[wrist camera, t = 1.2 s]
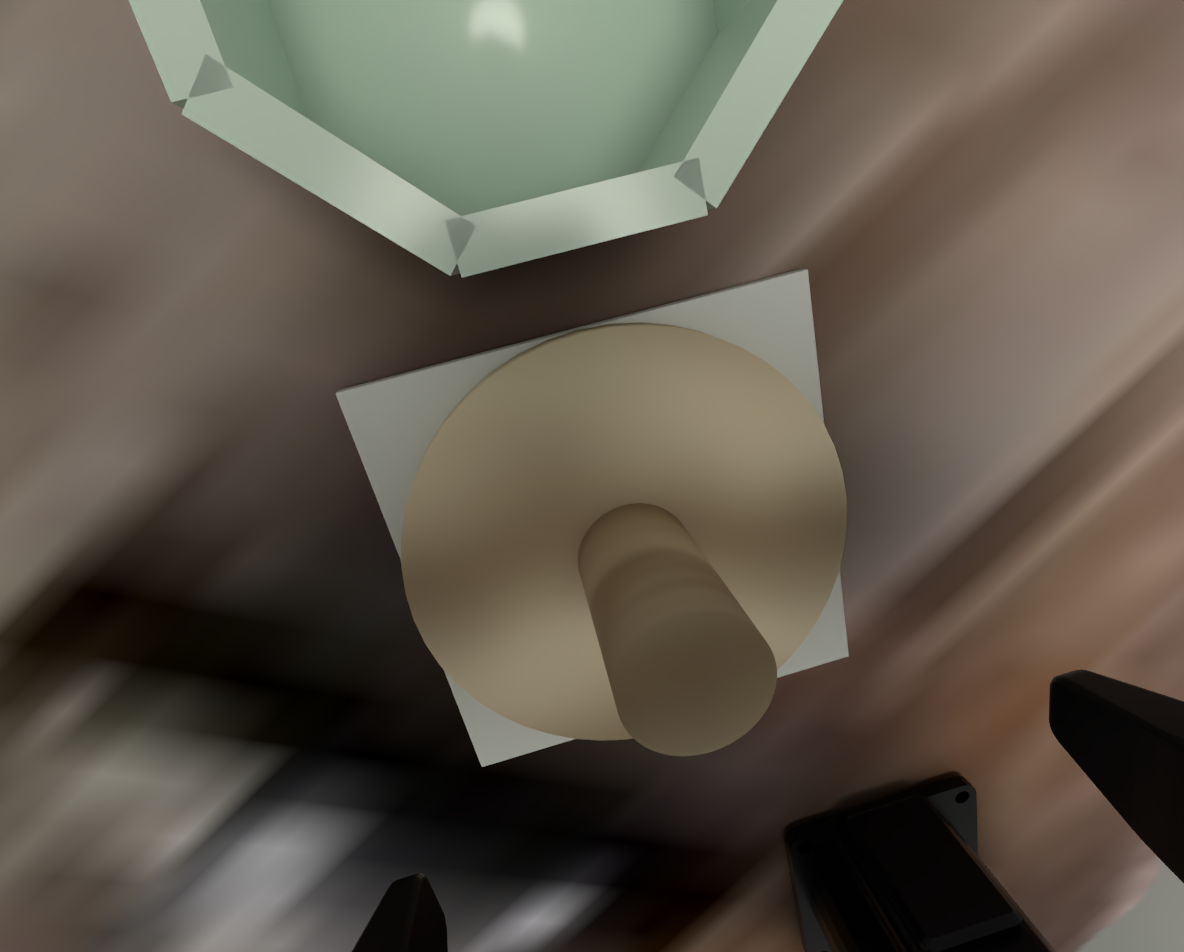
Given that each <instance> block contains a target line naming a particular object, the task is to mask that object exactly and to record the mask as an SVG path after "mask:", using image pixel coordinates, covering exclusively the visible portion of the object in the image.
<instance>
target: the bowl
mask: <svg viewBox="0 0 1184 952" xmlns="http://www.w3.org/2000/svg"><path fill="white" fill-rule="evenodd" d="M129 2H130V5H131V7H132V10H133V12H134V14H135V17H136V19H137V22H138V24H139V26H140V29H141V31H142V34H143V36H144V38H145V41H146V43H147V46H148V48H149V50H150V53H151V55H152V58H153V60H154V62H155V65H156V67H157V70H158V72H159V74H160V77H161V79H162V82H163V84H164V86H165V89H166V91H167V94H168V96H169V98H170V101H171V102H172V103H174V104H176V105H178V106H180V107H182V108H184V109H183V112H182V115H184V116H185V117H187V118H189V119H190V120H192V121H194V122H195V123H197V124H199V125H200V126H202V127H204V128H205V129H207V130H209V131H210V132H212V133H214V134H215V135H217V136H219V137H220V138H222V139H224V140H225V141H227V142H229V143H230V144H232V145H233V146H235V147H237V148H238V149H240V150H242V151H243V152H245V153H247V154H248V155H250V156H252V157H253V158H255V159H257V160H258V161H260V162H262V163H263V164H265V165H267V166H268V167H270V168H272V169H273V170H275V171H277V172H278V173H280V174H282V175H283V176H285V177H287V178H288V179H290V180H292V181H293V182H295V183H297V184H298V185H300V186H302V187H303V188H305V189H307V190H308V191H310V192H312V193H313V194H315V195H317V196H318V197H320V198H322V199H323V200H325V201H327V202H328V203H330V204H331V205H333V206H335V207H336V208H338V209H340V210H341V211H343V212H345V213H346V214H348V215H350V216H351V217H353V218H355V219H356V220H358V221H360V222H361V223H363V224H365V225H366V226H368V227H370V228H371V229H373V230H375V231H376V232H378V233H380V234H381V235H383V236H385V237H386V238H388V239H390V240H391V241H393V242H395V243H396V244H398V245H400V246H401V247H403V248H405V249H406V250H408V251H410V252H411V253H413V254H415V255H416V256H418V257H420V258H421V259H423V260H425V261H426V262H428V263H429V264H431V265H433V266H434V267H436V268H438V269H439V270H441V271H443V272H444V273H446V274H448V275H449V276H452V275H456V274H459V273H460V274H461V278H463V277H467V276H471V275H475V274H479V273H482V272H486V271H490V270H494V269H498V268H502V267H506V266H510V265H514V264H518V263H522V262H526V261H530V260H534V259H538V258H542V257H545V256H549V255H553V254H557V253H561V252H565V251H569V250H573V249H577V248H581V247H585V246H589V245H593V244H597V243H601V242H605V241H609V240H612V239H616V238H620V237H624V236H628V235H632V234H636V233H640V232H644V231H648V230H652V229H656V228H660V227H664V226H668V225H672V224H675V223H679V222H683V221H687V220H691V219H695V218H699V217H703V216H707V215H708V212H707V211H708V210H712V209H716V208H717V207H718V206H719V204H720V202H721V201H722V199H723V197H724V196H725V194H726V192H727V191H728V189H729V188H730V186H731V184H732V183H733V181H734V179H735V178H736V176H737V174H738V173H739V171H740V169H741V168H742V166H743V165H744V163H745V161H746V160H747V158H748V156H749V155H750V153H751V151H752V150H753V148H754V146H755V145H756V143H757V141H758V140H759V138H760V137H761V135H762V133H763V132H764V130H765V128H766V127H767V125H768V123H769V122H770V120H771V118H772V117H773V115H774V113H775V112H776V110H777V109H778V107H779V105H780V104H781V102H782V100H783V99H784V97H785V95H786V94H787V92H788V90H789V89H790V87H791V86H792V84H793V82H794V81H795V79H796V77H797V76H798V74H799V72H800V71H801V69H802V67H803V66H804V64H805V62H806V61H807V59H808V58H809V56H810V54H811V53H812V51H813V49H814V48H815V46H816V44H817V43H818V41H819V39H820V38H821V36H822V35H823V33H824V31H825V30H826V28H827V26H828V25H829V23H830V21H831V20H832V18H833V16H834V15H835V13H836V11H837V10H838V8H839V7H840V5H841V3H842V2H843V0H129Z"/></svg>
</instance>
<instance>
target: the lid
mask: <svg viewBox="0 0 1184 952" xmlns="http://www.w3.org/2000/svg"><path fill="white" fill-rule="evenodd" d="M846 530H847V496H846V490H845V484H844V478H843V472H842V468H841V465H840V462H839V459H838V456H837V452H836V449H835V446H834V444H833V442H832V440H831V438H830V436H829V434H828V432H827V430H826V428H825V426H824V424H823V422H822V420H821V419H820V417H819V416H818V414H817V413H816V411H815V410H814V409H813V407H812V406H811V404H810V403H809V401H808V400H807V399H806V398H805V396H804V395H803V394H802V393H801V392H800V391H799V390H798V389H797V388H796V387H795V386H794V385H793V384H792V383H791V382H790V381H789V380H788V379H787V378H786V377H785V376H784V375H782V374H781V373H780V372H779V371H777V370H776V369H775V368H773V367H772V366H771V365H770V364H768V363H767V362H766V361H764V360H763V359H761V358H759V357H757V356H755V355H754V354H752V353H750V352H748V351H747V350H745V349H743V348H741V347H739V346H737V345H735V344H732V343H729V342H727V341H724V340H722V339H719V338H716V337H714V336H711V335H708V334H705V333H702V332H699V331H695V330H691V329H686V328H682V327H678V326H673V325H667V324H655V323H643V322H634V323H615V324H605V325H600V326H595V327H589V328H584V329H579V330H575V331H572V332H569V333H566V334H563V335H560V336H557V337H554V338H551V339H548V340H546V341H544V342H542V343H540V344H538V345H535V346H533V347H531V348H529V349H527V350H525V351H523V352H521V353H519V354H517V355H516V356H514V357H513V358H511V359H510V360H508V361H507V362H505V363H504V364H502V365H501V366H499V367H498V368H496V369H495V370H493V371H492V372H491V373H489V374H488V375H487V376H486V377H485V378H484V379H483V380H482V381H480V382H479V383H478V384H477V385H476V386H475V387H474V388H472V389H471V390H470V391H469V392H468V393H467V394H466V395H465V396H464V398H463V399H462V400H461V401H460V402H459V403H458V404H457V406H456V407H455V408H454V409H453V410H452V411H451V413H450V414H449V415H448V416H447V418H446V419H445V421H444V422H443V424H442V425H441V427H440V428H439V430H438V431H437V433H436V435H435V436H434V438H433V439H432V441H431V442H430V445H429V447H428V449H427V451H426V453H425V455H424V457H423V460H422V462H421V464H420V466H419V468H418V471H417V474H416V476H415V479H414V482H413V485H412V489H411V492H410V495H409V499H408V502H407V505H406V509H405V515H404V522H403V529H402V536H401V568H402V574H403V581H404V587H405V594H406V597H407V600H408V604H409V607H410V610H411V613H412V616H413V619H414V622H415V624H416V626H417V628H418V630H419V632H420V634H421V636H422V638H423V640H424V642H425V644H426V646H427V647H428V649H429V650H430V652H431V653H432V654H433V656H434V657H435V659H436V660H437V662H438V663H439V665H440V666H441V667H442V668H443V669H444V670H445V671H446V673H447V674H448V675H449V676H450V677H451V678H452V679H453V680H454V681H455V682H456V683H457V685H459V686H460V687H461V688H462V689H463V690H465V691H466V692H467V693H468V694H469V695H471V696H472V697H473V698H474V699H475V700H477V701H478V702H480V703H481V704H483V705H484V706H486V707H488V708H489V709H491V710H492V711H494V712H496V713H497V714H499V715H501V716H503V717H505V718H507V719H509V720H512V721H514V722H516V723H518V724H520V725H522V726H525V727H528V728H532V729H535V730H538V731H541V732H544V733H547V734H552V735H557V736H563V737H568V738H573V739H586V740H626V739H633V738H634V739H635V740H636V741H637V742H638V743H640V744H641V745H643V746H644V747H646V748H648V749H650V750H652V751H655V752H658V753H661V754H666V755H671V756H694V755H701V754H705V753H709V752H712V751H715V750H718V749H721V748H723V747H725V746H727V745H729V744H731V743H733V742H734V741H736V740H738V739H739V738H741V737H742V736H743V735H744V734H746V733H747V732H748V731H749V730H750V729H751V728H753V727H754V726H755V725H756V723H757V722H758V721H759V720H760V719H761V718H762V716H763V715H764V713H765V712H766V710H767V708H768V706H769V705H770V703H771V701H772V698H773V695H774V692H775V688H776V683H777V670H778V669H779V668H780V667H781V666H782V665H783V664H784V663H785V662H786V661H787V660H788V659H789V658H790V657H791V655H792V654H793V653H794V652H795V651H796V650H797V648H798V647H799V646H800V645H801V644H802V643H803V641H804V640H805V638H806V637H807V635H808V634H809V632H810V631H811V629H812V628H813V626H814V625H815V623H816V622H817V620H818V618H819V617H820V615H821V613H822V611H823V609H824V607H825V605H826V603H827V601H828V599H829V597H830V594H831V592H832V589H833V587H834V584H835V581H836V579H837V576H838V573H839V569H840V565H841V561H842V557H843V552H844V548H845V539H846Z"/></svg>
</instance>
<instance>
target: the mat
mask: <svg viewBox="0 0 1184 952" xmlns="http://www.w3.org/2000/svg"><path fill="white" fill-rule="evenodd" d="M634 322H643V323H655V324H667V325H673V326H678V327H682V328H686V329H691V330H695V331H699V332H702V333H705V334H708V335H711V336H714V337H716V338H719V339H722V340H724V341H727V342H729V343H732V344H735V345H737V346H739V347H741V348H743V349H745V350H747V351H748V352H750V353H752V354H754V355H755V356H757V357H759V358H761V359H763V360H764V361H766V362H767V363H768V364H770V365H771V366H772V367H773V368H775V369H776V370H777V371H779V372H780V373H781V374H782V375H784V376H785V377H786V378H787V379H788V380H789V381H790V382H791V383H792V384H793V385H794V386H795V387H796V388H797V389H798V390H799V391H800V392H801V393H802V394H803V395H804V396H805V398H806V399H807V400H808V401H809V403H810V404H811V406H812V407H813V409H814V410H815V411H816V413H817V414H818V416H819V417H820V419H821V420H822V422H823V424H824V418H823V409H822V399H821V390H820V381H819V371H818V362H817V352H816V343H815V334H814V324H813V315H812V305H811V296H810V287H809V277H808V269H799V270H795V271H791V272H787V273H784V274H780V275H776V276H772V277H768V278H764V279H761V280H757V281H753V282H749V283H745V284H742V285H738V286H734V287H730V288H726V289H722V290H719V291H715V292H711V293H707V294H703V295H699V296H696V297H692V298H688V299H684V300H680V301H677V302H673V303H669V304H665V305H661V306H657V307H654V308H650V309H646V310H642V311H638V312H635V313H631V314H627V315H623V316H619V317H615V318H612V319H608V320H604V321H600V322H596V323H592V324H589V325H585V326H581V327H577V328H573V329H570V330H566V331H562V332H558V333H554V334H550V335H547V336H543V337H539V338H535V339H531V340H528V341H524V342H520V343H516V344H512V345H508V346H505V347H501V348H497V349H493V350H489V351H486V352H482V353H478V354H474V355H470V356H466V357H463V358H459V359H455V360H451V361H447V362H443V363H440V364H436V365H432V366H428V367H424V368H421V369H417V370H413V371H409V372H405V373H401V374H398V375H394V376H390V377H386V378H382V379H379V380H375V381H371V382H367V383H363V384H359V385H356V386H352V387H348V388H344V389H340V390H339V391H337V392H336V393H335V394H336V396H337V399H338V401H339V404H340V407H341V409H342V412H343V414H344V417H345V419H346V422H347V424H348V427H349V430H350V432H351V435H352V437H353V440H354V442H355V445H356V447H357V450H358V453H359V455H360V458H361V460H362V463H363V465H364V468H365V470H366V473H367V475H368V478H369V481H370V483H371V486H372V488H373V491H374V493H375V496H376V498H377V501H378V504H379V506H380V509H381V511H382V514H383V516H384V519H385V521H386V524H387V527H388V529H389V532H390V534H391V537H392V539H393V542H394V544H395V547H396V549H397V552H398V555H399V557H400V560H401V536H402V529H403V522H404V515H405V509H406V505H407V502H408V499H409V495H410V492H411V489H412V485H413V482H414V479H415V476H416V474H417V471H418V468H419V466H420V464H421V462H422V460H423V457H424V455H425V453H426V451H427V449H428V447H429V445H430V442H431V441H432V439H433V438H434V436H435V435H436V433H437V431H438V430H439V428H440V427H441V425H442V424H443V422H444V421H445V419H446V418H447V416H448V415H449V414H450V413H451V411H452V410H453V409H454V408H455V407H456V406H457V404H458V403H459V402H460V401H461V400H462V399H463V398H464V396H465V395H466V394H467V393H468V392H469V391H470V390H471V389H472V388H474V387H475V386H476V385H477V384H478V383H479V382H480V381H482V380H483V379H484V378H485V377H486V376H487V375H488V374H489V373H491V372H492V371H493V370H495V369H496V368H498V367H499V366H501V365H502V364H504V363H505V362H507V361H508V360H510V359H511V358H513V357H514V356H516V355H517V354H519V353H521V352H523V351H525V350H527V349H529V348H531V347H533V346H535V345H538V344H540V343H542V342H544V341H546V340H548V339H551V338H554V337H557V336H560V335H563V334H566V333H569V332H572V331H575V330H579V329H584V328H589V327H595V326H600V325H605V324H615V323H634ZM848 656H849V653H848V643H847V634H846V625H845V615H844V606H843V596H842V587H841V578H840V569H839V573H838V576H837V579H836V581H835V584H834V587H833V589H832V592H831V594H830V597H829V599H828V601H827V603H826V605H825V607H824V609H823V611H822V613H821V615H820V617H819V618H818V620H817V622H816V623H815V625H814V626H813V628H812V629H811V631H810V632H809V634H808V635H807V637H806V638H805V640H804V641H803V643H802V644H801V645H800V646H799V647H798V648H797V650H796V651H795V652H794V653H793V654H792V655H791V657H790V658H789V659H788V660H787V661H786V662H785V663H784V664H783V665H782V666H781V667H780V668H779V669H778V670H777V678H778V677H782V676H785V675H788V674H792V673H795V672H798V671H802V670H805V669H808V668H811V667H815V666H818V665H821V664H825V663H828V662H831V661H835V660H838V659H841V658H845V657H848ZM444 672H445V674H446V677H447V680H448V682H449V685H450V687H451V690H452V692H453V695H454V697H455V700H456V703H457V705H458V708H459V710H460V713H461V715H462V718H463V720H464V723H465V726H466V728H467V731H468V733H469V736H470V738H471V741H472V743H473V746H474V748H475V751H476V754H477V756H478V759H479V761H480V764H481V766H482V767H484V766H487V765H491V764H494V763H497V762H501V761H504V760H507V759H510V758H514V757H517V756H520V755H524V754H527V753H530V752H534V751H537V750H540V749H544V748H547V747H550V746H553V745H557V744H560V743H563V742H567V741H570V740H573V738H568V737H563V736H557V735H552V734H547V733H544V732H541V731H538V730H535V729H532V728H528V727H525V726H522V725H520V724H518V723H516V722H514V721H512V720H509V719H507V718H505V717H503V716H501V715H499V714H497V713H496V712H494V711H492V710H491V709H489V708H488V707H486V706H484V705H483V704H481V703H480V702H478V701H477V700H475V699H474V698H473V697H472V696H471V695H469V694H468V693H467V692H466V691H465V690H463V689H462V688H461V687H460V686H459V685H457V683H456V682H455V681H454V680H453V679H452V678H451V677H450V676H449V675H448V674H447V673H446V671H445V670H444Z"/></svg>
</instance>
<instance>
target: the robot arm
mask: <svg viewBox="0 0 1184 952" xmlns="http://www.w3.org/2000/svg"><path fill="white" fill-rule="evenodd" d="M1049 723H1050V727H1051V730H1052V732H1053V734H1054V735H1055V737H1056V739H1057V740H1058V741H1059V743H1060V744H1061V745H1062V746H1063V747H1064V749H1065V750H1066V751H1067V752H1068V753H1069V755H1070V756H1071V757H1072V758H1073V759H1074V760H1075V762H1076V763H1077V764H1078V765H1079V766H1080V768H1081V769H1082V770H1083V771H1084V772H1085V773H1086V775H1087V776H1088V777H1089V778H1090V779H1091V781H1092V782H1093V783H1094V784H1095V785H1096V787H1097V788H1098V789H1099V790H1100V791H1101V792H1102V794H1103V795H1104V796H1105V797H1106V798H1107V800H1108V801H1109V802H1110V803H1111V804H1112V806H1113V807H1114V808H1115V809H1116V810H1117V811H1118V813H1119V814H1120V815H1121V816H1122V817H1123V819H1124V820H1125V821H1126V822H1127V823H1128V824H1129V826H1130V827H1131V828H1132V829H1133V830H1134V831H1135V832H1136V834H1137V835H1138V836H1139V837H1140V838H1141V839H1142V840H1143V841H1144V843H1145V844H1146V845H1147V846H1148V847H1149V848H1150V849H1151V850H1152V851H1153V852H1154V853H1155V854H1156V855H1157V856H1158V857H1159V858H1160V860H1161V861H1162V862H1163V863H1164V864H1165V865H1166V866H1167V867H1168V868H1169V869H1170V870H1171V871H1172V872H1174V874H1175V875H1176V876H1177V877H1178V878H1179V879H1180V880H1181V881H1182V882H1183V883H1184V701H1181V700H1178V699H1174V698H1171V697H1168V696H1165V695H1162V694H1159V693H1156V692H1153V691H1150V690H1147V689H1143V688H1140V687H1137V686H1134V685H1131V684H1128V683H1125V682H1122V681H1119V680H1116V679H1112V678H1109V677H1106V676H1103V675H1100V674H1097V673H1094V672H1091V671H1087V670H1075V671H1072V672H1068V673H1065V674H1062V675H1059V676H1056V677H1054V678H1053V679H1052V681H1051V683H1050V702H1049ZM785 844H786V850H787V856H788V862H789V867H790V873H791V879H792V885H793V890H794V896H795V902H796V908H797V914H798V919H799V925H800V931H801V937H802V942H803V948H804V951H805V952H1056V951H1055V950H1054V949H1053V948H1052V947H1051V945H1050V944H1049V943H1048V942H1047V940H1046V939H1045V938H1044V937H1043V936H1042V934H1041V933H1040V932H1039V931H1038V929H1037V928H1036V927H1035V926H1034V924H1033V923H1032V922H1031V921H1030V920H1029V918H1028V917H1027V916H1026V915H1025V913H1024V912H1023V911H1022V910H1021V909H1020V907H1019V906H1018V905H1017V904H1016V902H1015V901H1014V900H1013V899H1012V897H1011V896H1010V895H1009V894H1008V893H1007V891H1006V890H1005V889H1004V888H1003V886H1002V885H1001V884H1000V883H999V882H998V880H997V879H996V878H995V877H994V875H993V874H992V873H991V872H990V870H989V869H988V868H987V867H986V866H985V864H984V863H983V862H982V861H981V859H980V858H979V857H978V855H977V805H976V790H975V788H974V787H973V786H972V785H971V784H970V783H969V782H968V781H967V779H965V778H964V777H962V776H954V777H951V778H948V779H944V780H941V781H938V782H935V783H932V784H929V785H926V786H922V787H919V788H916V789H913V790H910V791H907V792H904V793H900V794H897V795H894V796H891V797H888V798H885V799H882V800H878V801H875V802H872V803H869V804H866V805H863V806H860V807H856V808H853V809H850V810H847V811H844V812H841V813H838V814H834V815H831V816H828V817H825V818H822V819H819V820H816V821H812V822H809V823H806V824H803V825H800V826H797V827H795V828H793V829H791V830H790V831H789V832H788V833H787V835H786V837H785ZM352 952H448V947H447V927H446V921H445V916H444V913H443V911H442V909H441V906H440V904H439V902H438V900H437V898H436V896H435V894H434V892H433V889H432V887H431V885H430V883H429V881H428V879H427V877H426V876H425V875H424V874H415V875H412V876H409V877H405V878H402V879H399V880H396V881H395V882H393V883H392V884H391V885H390V886H389V888H388V889H387V891H386V893H385V895H384V896H383V898H382V900H381V902H380V903H379V905H378V907H377V909H376V910H375V912H374V914H373V915H372V917H371V919H370V921H369V922H368V924H367V926H366V928H365V929H364V931H363V933H362V935H361V936H360V938H359V940H358V942H357V943H356V945H355V947H354V949H353V950H352Z"/></svg>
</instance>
